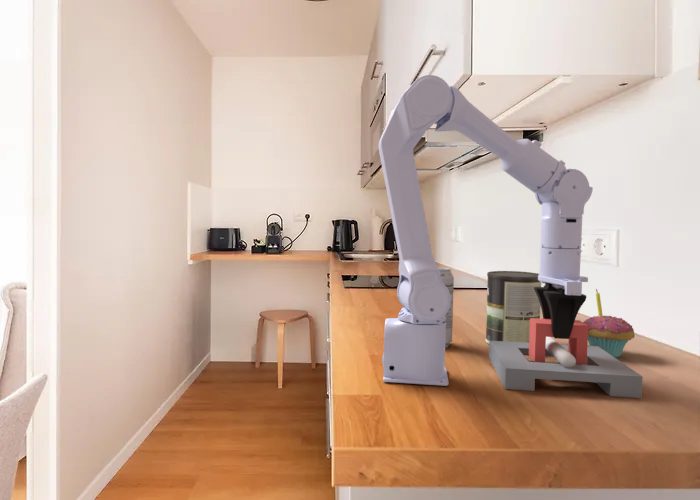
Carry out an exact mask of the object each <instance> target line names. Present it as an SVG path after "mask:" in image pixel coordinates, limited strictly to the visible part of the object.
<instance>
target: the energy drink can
mask: <svg viewBox="0 0 700 500" xmlns="http://www.w3.org/2000/svg"><path fill="white" fill-rule="evenodd" d="M438 268H439V272H440V277H441V280H442V282H443V283H444V284H445V286H446V287H447V288H448V290H449V292H450V295H451V305H450V308H449V310H448V312H447V313H446V315H445V317H446V334H445V348H448V347H449V346H450V344H451V343H452V342H453V318H454V317H453V316H454V284H455V283H454V282H455V281H454V279H455V278H454V275H453V273H452V271H451V269H452V268H450V267H441V266H440V267H439V266H438Z"/></svg>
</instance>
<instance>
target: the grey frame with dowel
mask: <svg viewBox="0 0 700 500" xmlns="http://www.w3.org/2000/svg"><path fill="white" fill-rule="evenodd" d="M525 356H529V343H525V342H506V341H489V344H488V358H489V360H490V362H491V365H492V366H493V368H494V370H495V372H496V373H497V376H498V377H499V379H500V382H501V383H502V385H503V388H504V389H505V390H517V391H531V392H532V391H533V392H535V385H536V384H535V383H536V381H535V380H536V379H538V380H551V381H552V380H555V381H571V382H573V381H574V382H583V383H585V382H586V383H587V382H588V383H595V384H596V385H597V386H598V387H599V388H601V390H603V391H604V392H605V393H606V394H607V395H609V396H610V397H619V398H621V397H622V398H632V399H633V398H637V399H642V394H643V376H642V375H641V374H640V373H638V372H637V371H635V370H634V369H632V368H630V366H628V365H626V364H625V363H623V362H622V361H620V360H619V359H617V357H613V356H612V355H610V354H609V353H607V352H606V351H604V350H603V349H601V348H600V347H598V346H590V345H587V365H581V364H575V363H576V359H575V357H574V356H573V355H571V354H570V353H569V352H568V344H564V343H563V344H562V343H561V344H560V342H557V340H555V338H554V337H546V349H545V358H546V357H548V358H549V357H550V358H555V360H557V363H554V362H551V363H550V362H534V361H529V360H528V359H527V358H526V357H525ZM529 357H530V356H529ZM558 362H559V363H558Z"/></svg>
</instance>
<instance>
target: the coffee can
mask: <svg viewBox="0 0 700 500" xmlns="http://www.w3.org/2000/svg"><path fill="white" fill-rule="evenodd" d="M486 274H487V275H486V276H487V283H486V284H487V289H486V290H487V291H486V292H487V293H486V325H485V326H486V327H485V328H486V329H485V340H484V341H485V343H487V344H488V345H489V341H506V342H525V343H529V333H530V318H535V319H541V305H540V302H539V299H538V297H537V294H536V292H535V290H534V287H542V283H540V281H539V280H538V275H539V274H540V273H536V272H530V271H521V270H520V271H517V270H494V271H493V270H491V271H487V273H486Z"/></svg>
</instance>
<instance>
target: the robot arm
mask: <svg viewBox="0 0 700 500" xmlns="http://www.w3.org/2000/svg"><path fill="white" fill-rule="evenodd" d="M435 124H436V126H435V129H434V131H435V132H451V131H452V132H453V131H454V132H458V133H461V134H462V135H463V136H464V137H466V138H468V139H470V140H471V141H473V143H476V144H478V145H479V146H481V147H482V148H483V149H485V150H487V151H488V152H490V153H491V154H493V155H494V156H496V157H498V158H499V160H500V165H501V170H502V171H503V172H505V173H506V174H507V175H509V176H510V177H511V178H513V179H515V180H516V181H517V182H518V183H520V184H521V185H523V186H524V187H526V188H527V189H529V190H530V191H531V192H532V193H534V197H535V199H536V202H537V203H538V204H539V205H541V223H540V225H541V227H540V229H541V230H540V251H539V252H540V253H539V273H538V274H539V275H538V280H539V281H540V283H541V284H544V285H543V286H541V287H534V290H535V292H536V294H537V297H538V299H539V302H540V305H541V306H540V310H541V314H542V315H541V316H542V319H551V325H552V332H553V336H554V337H553V339H560V340H562V339H563V340H569V337H570V335H571V332H572V328H573V325H574V321H575V320H576V317H577V316H578V313H579V311H580V309H581V307H582V306H583V304H584V303H585V302H586V299H587V294H584V293H582V291H583V289H582V288H583V283H588V282H589V277H588V276H583V275H580V274H581V257H582V255H581V253H582V235H583V233H582V232H583V231H582V230H583V215H584V214H585V211H584V210H585V205H586V204H587V202H588V201H589V200H590V198H591V196H592V193H593V188H594V187H593V186H590V183H589V180H588V178H587V176H586V174H585V173H583V172H582V171H581V170H579V169H576V168H566V162H565V161H564V160H562V159H559V160H557V159H556V158H555V157H554V156H552V155H551V154H549V153H548V152H547V151H545V150H544V149H543V148H541V146H542V143H541V142H540V141H538V140H537V139H535V140H531V139H529V138H523V139H515V138H513V136H511V135H510V134H509V133H508V132H506V131H505V130H504V129H503V128H502V127H501V126H499V125H497V124H496V123H495V122H494V121H493V120H492V119H491V118H489V117H488V116H487V115H485V114H484V113H483V112H482V111H481V110H479V109H478V107H476V106H475V105H473V104H472V103H471V102H470V101H469V100H468V99H467V98H466V96H464V94H463V93H462V92H461V91H460V89H458V88H456V87H454V86H453V85H450V86H449V84H448V83H447V82H446V80H445V79H443V78H442V77H439V76H438V75H434V74H432V75H431V74H427V75H422V76H420V77H418V78H417V79H415V81H413V83H412V84H411V85H410V86H409V87H408V88H407V89H406V90H405V91H404V93H403V94H402V95H401V97H399V100H398V102H397V103H396V105H395V106H394V107H393V108H392V110H391V112H390V114H389V117H388V120H387V122H386V124H385V127H384V129H383V130H382V131H383V132H382V133H381V136H380V139H379V141H378V151H379V152H378V153H379V157H380V163H381V169H382V175H383V179H384V185H385V189H386V195H387V199H388V206H389V211H390V216H391V221H392V227H393V232H394V237H395V242H396V247H397V254H398V258H399V261H398V274H399V280H398V281H399V282H398V285H397V290H396V294H397V295H396V296H397V299H398V301H399V303H400V305H401V306H402V308H401V310H400V311H399V313H398V315H397V317H395V318H393V317H389V318H385V320H384V321H385V322H384V332H383V354H382V361H381V362H382V364H381V366H382V367H383V376H382V381H383V382H385V383H398V384H399V383H400V384H413V385H414V384H415V385H428V386H445V387H446V386H449V378H448V372H447V367H446V365H445V364H446V347H445V334H446V317H445V315H446V313H447V312H448V310H449V308H450V305H451V295H450V292H449V290H448V288H447V287H446V286H445V284H444V283H443V282H442V280H441V277H440V272H439V268H438V267H439V266H438V264H437V262H436V259H435V258H434V255H433V251H432V246H431V241H430V236H429V231H428V226H427V225H428V224H427V220H426V214H425V209H424V203H423V199H422V198H423V197H422V193H421V186H420V182H419V181H420V180H419V175H418V172H417V165H416V159H415V156H414V155H415V154H414V149H415V147H416V145H417V144H418V143H419V141H420V140H421V139H422V138H423V136H424V135H425V133H426V131H427V130H429V129H431V127H432V126H433V125H435Z"/></svg>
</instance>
